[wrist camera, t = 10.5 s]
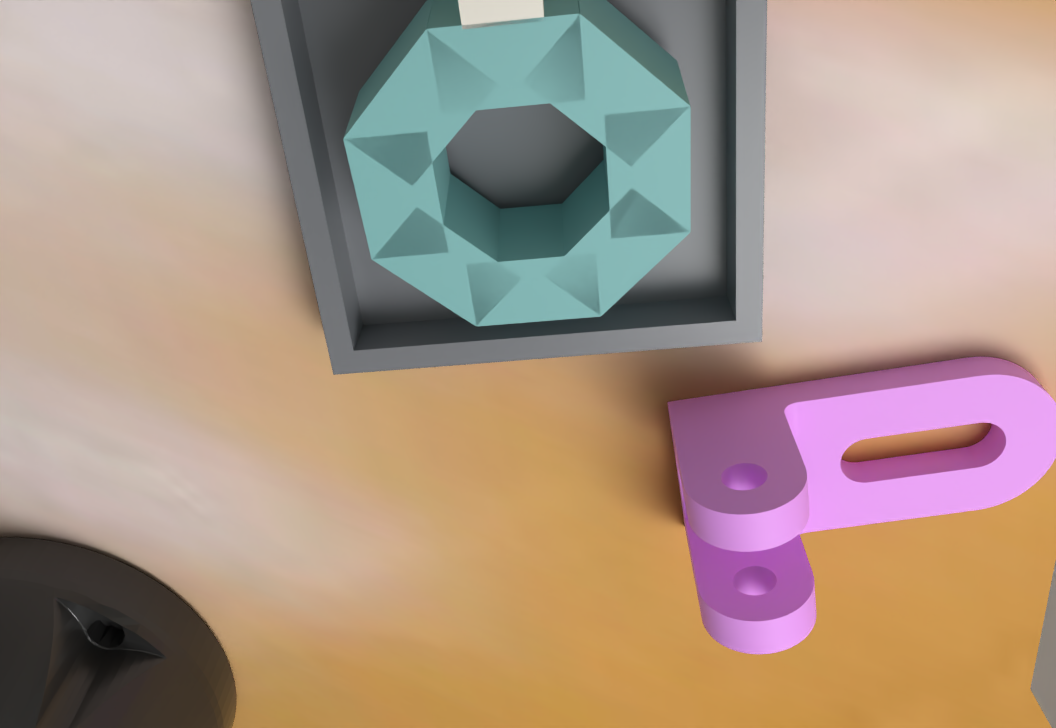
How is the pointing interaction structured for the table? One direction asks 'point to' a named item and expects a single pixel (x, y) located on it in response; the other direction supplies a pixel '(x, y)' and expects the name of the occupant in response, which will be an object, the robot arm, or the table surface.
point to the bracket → (837, 476)
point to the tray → (524, 188)
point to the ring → (535, 231)
